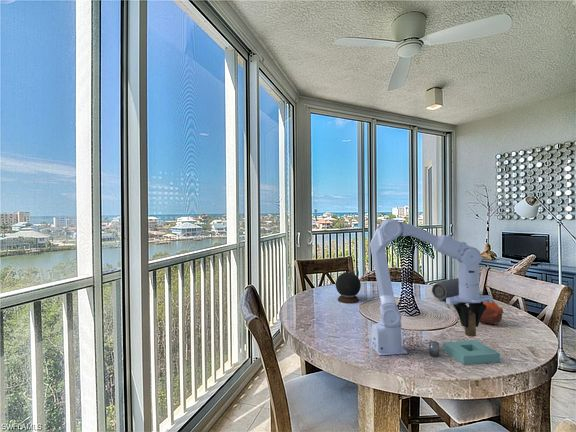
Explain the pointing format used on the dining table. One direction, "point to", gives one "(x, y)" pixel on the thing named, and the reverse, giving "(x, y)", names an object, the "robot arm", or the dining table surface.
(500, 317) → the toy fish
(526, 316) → the dining table surface
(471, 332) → the walnut dowel
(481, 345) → the hole block
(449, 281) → the bluetooth speaker
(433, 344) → the metal stub
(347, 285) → the snow globe
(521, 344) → the dining table surface
